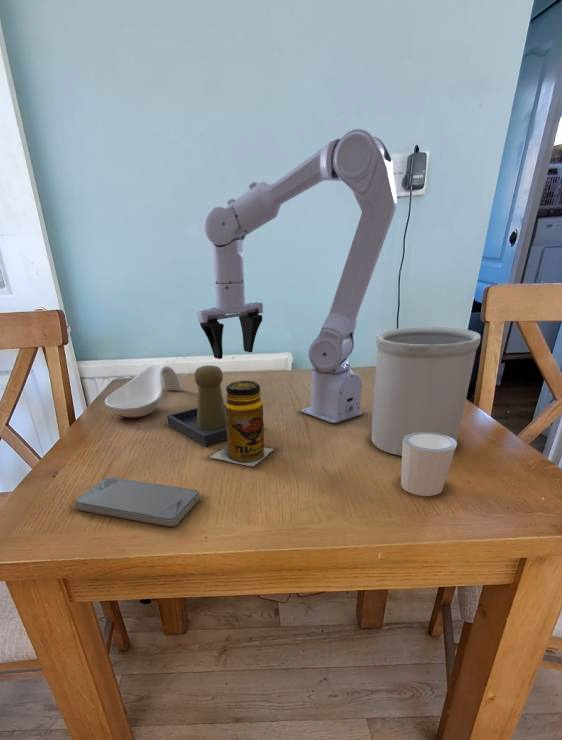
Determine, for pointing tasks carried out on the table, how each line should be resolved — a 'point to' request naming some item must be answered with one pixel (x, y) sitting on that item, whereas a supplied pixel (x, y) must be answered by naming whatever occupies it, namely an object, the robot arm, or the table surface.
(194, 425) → the slate tray
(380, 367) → the utensil holder
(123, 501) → the phone
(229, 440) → the condiment
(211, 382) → the pepper mill
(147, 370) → the spoon rest
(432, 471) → the white cup
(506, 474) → the table surface
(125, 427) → the table surface
